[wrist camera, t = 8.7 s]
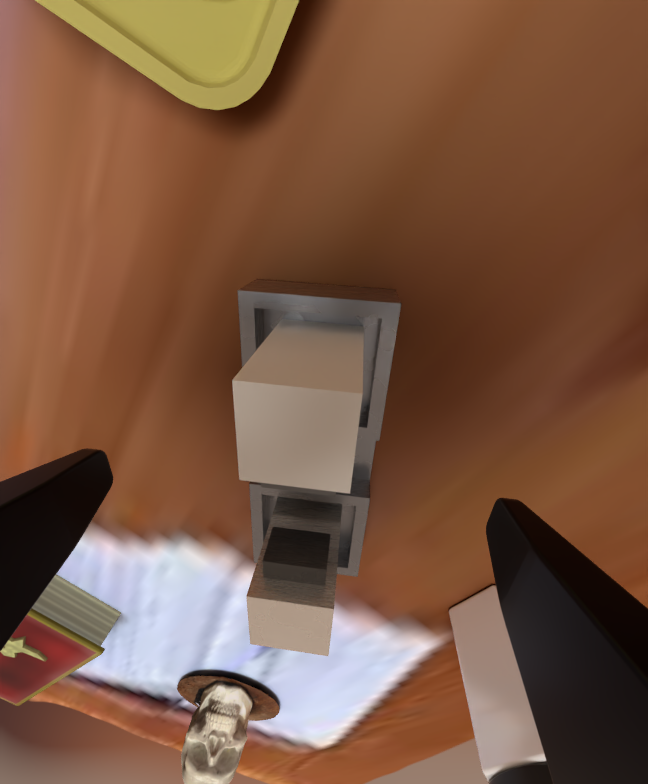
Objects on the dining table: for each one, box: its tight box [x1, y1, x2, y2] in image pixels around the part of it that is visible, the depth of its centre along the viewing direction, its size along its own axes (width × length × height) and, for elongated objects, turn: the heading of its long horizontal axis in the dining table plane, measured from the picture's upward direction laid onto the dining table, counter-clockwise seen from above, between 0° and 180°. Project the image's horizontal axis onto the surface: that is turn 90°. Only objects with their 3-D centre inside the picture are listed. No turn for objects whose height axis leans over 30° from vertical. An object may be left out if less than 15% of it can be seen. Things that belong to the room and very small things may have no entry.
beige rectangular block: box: [232, 319, 364, 496], centre depth 15 cm, size 4×5×7 cm
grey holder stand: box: [238, 279, 401, 656], centre depth 18 cm, size 7×18×8 cm, turn 177°
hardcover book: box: [0, 575, 121, 706], centre depth 35 cm, size 12×21×4 cm, turn 134°
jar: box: [449, 585, 553, 784], centre depth 22 cm, size 9×8×12 cm
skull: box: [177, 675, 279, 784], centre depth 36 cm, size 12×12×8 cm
